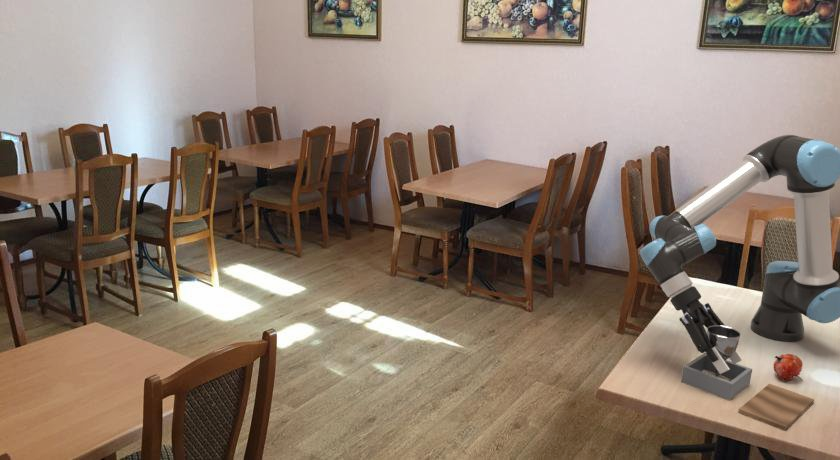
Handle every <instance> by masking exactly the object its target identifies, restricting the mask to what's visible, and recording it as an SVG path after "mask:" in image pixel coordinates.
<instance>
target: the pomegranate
mask: <svg viewBox="0 0 840 460" xmlns="http://www.w3.org/2000/svg"><path fill="white" fill-rule="evenodd" d="M774 359H775V361H773V371H774V373H775V375H776V376H777V377H778V378H779V379H780V380H782V381H784V382H791V381H793V379H794V378H798V379H799V380H800V381H803V379H802V378H801V377H800V375H801V372H802V369H803V361H802V360H801V358H800V357H798V355H796V354H791V353H786V354H781V355H780V356H778V355H775V356H774Z"/></svg>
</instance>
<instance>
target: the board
mask: <svg viewBox="0 0 840 460" xmlns="http://www.w3.org/2000/svg"><path fill="white" fill-rule="evenodd" d="M814 402H815V399H814V398H811V397H809V396H806V395H803V394H800V393H797V392H795V391H792V390H790V389H789V390H788V389H786V388H783V387H780V386H779V385H778V386H777V385H774V384H772V383H768V384H767V385H766V386H765V387H763V388H762V389H761V390H760V391H759V392H757V393H756V394H755V395H754V396H752V397H751V398H750V399H749V400H748V401H747V402H745V403H744V404H743V405H742V406H741V407H739V408H738V412H737V413H738V414H741V415H744V416H746V417H749V418H751V419H753V420H754V419H755V420H756V421H759V422H762V423H764V424H767V425H769V426H772V427H774V428H778V429H780V430H782V431H786V430H788V429H789V427H791V426H792V425H793V424H794V423H795V422H796V421H797V419H799V418H800V416H802V415H803V414H804V413H805V412H806V411H807V410H808V409H809V408H810V407H811V406H812V405H813V404H814Z"/></svg>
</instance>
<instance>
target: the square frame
mask: <svg viewBox="0 0 840 460" xmlns="http://www.w3.org/2000/svg"><path fill="white" fill-rule="evenodd" d="M725 363H726V364H727V366H728V367H729V370H728V371H726V372H724V373H721V374H720V373H719V374H718V377H716V376H715V375H712V374H715V373H716V367H715V366H714V364H713V363H712V361H711V360H710V358H709V357H708V355H707V354H706V352H704V353H701V354H700V355H699V356H697V357H696V358H694V359H693V360H691V361H689V362H688V363H686V364H685V365H684V366H682V371H681V372H682V373H681V378H680V379H681V381H680V382H681V383H683V384H686V385H688V386H691V387H693V388H696V389H698V390H702V391H705V392H707V393H709V394H712V395H715V396H717V397H719V398H720V397H721V398H723V399H725V400H727V401H731V400H733V398H735V396H737V395H738V394H739V393H741V392H742V391H743V390H745V389H746V388H747V387H748V386H750V384H751V379H752V374H753V368H751V367H747V366H745V365H742V364H739V363H736V364H733V363H732V361H731V360H728V359H727V360H725ZM704 371H706V372H704ZM707 372H708V373H707ZM710 373H712V374H710ZM719 376H720V377H719ZM721 377H723V378H721ZM724 378H726V379H729V380H730V381H729V380H726V379H724Z"/></svg>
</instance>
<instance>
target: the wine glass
mask: <svg viewBox="0 0 840 460" xmlns="http://www.w3.org/2000/svg"><path fill="white" fill-rule="evenodd" d="M706 333H707V335H708V338H709V340H710V342H711V345H712V348H714V347H715V348H716V349H717V351H718V352H719V354H720V355H721V357H722V358H723V360H724V361H725V360H727V361H728V359H729V358H730V357H731V356H732V355H733V354H734V353H735V351H736V350H738V349H737V348H738V346H739V342H740V339H741V333H740V331H738V330H737V329H735V328H733V327H731V326H730V327H729V326H726V325H725V326H721V325H713V326H709V327H708V329H707V331H706ZM718 374H719V372H718V370H717V369H716V373H714V376H716V377H718V378H719V375H718Z"/></svg>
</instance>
